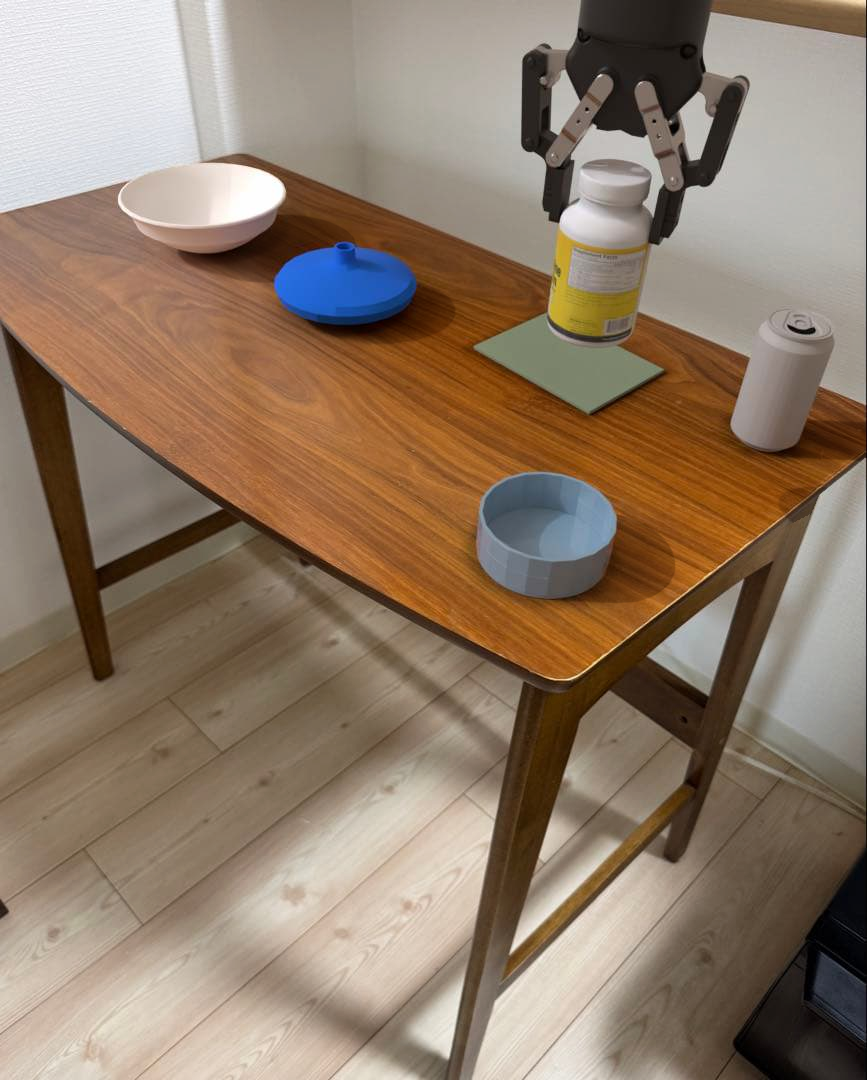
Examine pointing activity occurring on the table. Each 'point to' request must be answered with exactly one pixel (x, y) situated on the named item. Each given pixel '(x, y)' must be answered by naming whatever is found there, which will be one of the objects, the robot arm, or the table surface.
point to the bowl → (203, 205)
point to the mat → (568, 365)
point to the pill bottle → (601, 255)
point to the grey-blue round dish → (545, 534)
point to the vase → (345, 285)
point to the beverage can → (782, 378)
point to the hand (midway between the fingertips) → (606, 228)
